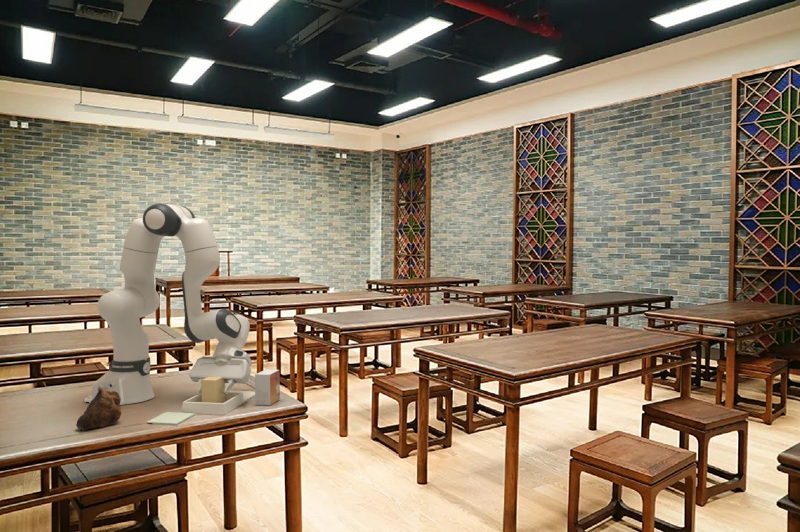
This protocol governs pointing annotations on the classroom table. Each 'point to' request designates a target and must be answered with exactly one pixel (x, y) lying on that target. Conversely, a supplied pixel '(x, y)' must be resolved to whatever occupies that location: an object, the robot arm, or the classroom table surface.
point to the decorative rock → (101, 411)
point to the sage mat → (171, 418)
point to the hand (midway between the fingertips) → (212, 392)
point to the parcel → (213, 390)
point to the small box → (267, 387)
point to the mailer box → (231, 402)
